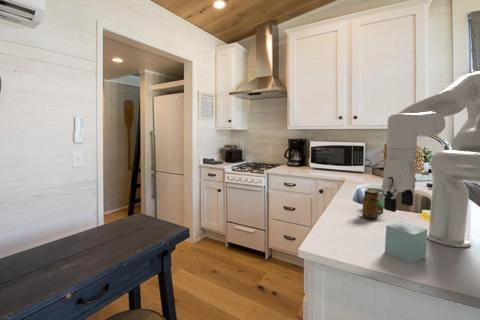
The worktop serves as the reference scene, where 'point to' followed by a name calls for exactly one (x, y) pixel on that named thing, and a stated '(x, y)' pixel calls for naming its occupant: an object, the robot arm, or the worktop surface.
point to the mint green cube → (406, 241)
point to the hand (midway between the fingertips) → (398, 207)
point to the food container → (381, 200)
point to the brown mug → (370, 206)
